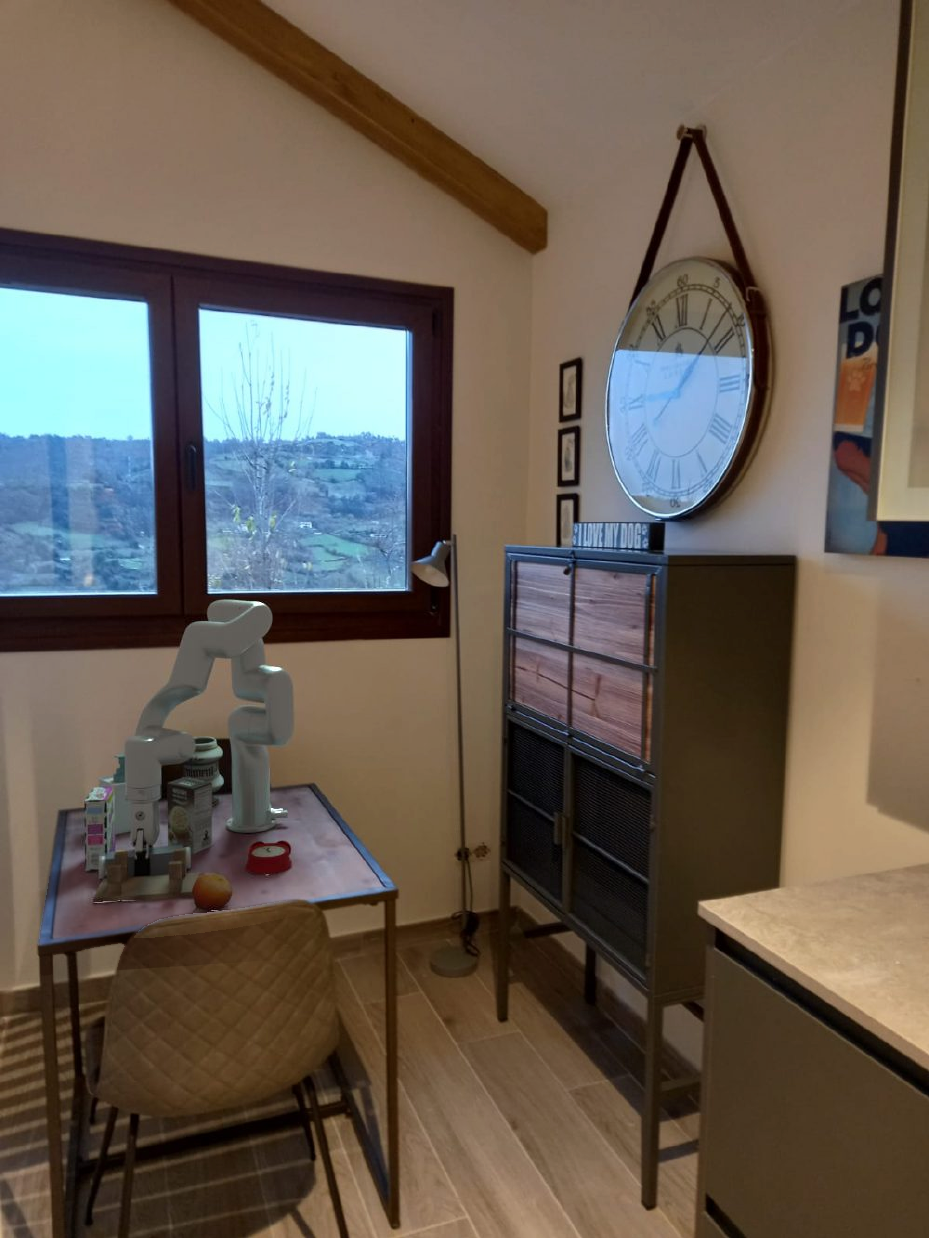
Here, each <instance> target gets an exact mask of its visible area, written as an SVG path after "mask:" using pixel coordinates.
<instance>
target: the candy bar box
mask: <svg viewBox="0 0 929 1238" xmlns="http://www.w3.org/2000/svg"><path fill="white" fill-rule="evenodd" d="M83 803H84V805H83V806H84V810H83V812H84V813H83V814H84V861H85V862H84V865H85V867H84V869H85V870H84V871H85V872H87V873H89V872H99V856H105V858H106V855H107V852H114V851H116V835H115V787H99V786H98V787H92V790H91V791H90V792H89V794H88V795H87V796H86V798H85V799H84V802H83Z"/></svg>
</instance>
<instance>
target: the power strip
mask: <svg viewBox="0 0 929 1238" xmlns="http://www.w3.org/2000/svg"><path fill="white" fill-rule="evenodd" d="M175 848H183V844H181V845H171V846H168V845H164V846H153V847H152V848H149V858H150V876H156V875H169V862H172V861H173V851H174V849H175ZM184 848H186V870H189V869H192V868H191V867H192V866H191V865H192V861H191V855H192V853H190V847H184ZM143 850H145V851H146V848H143ZM123 851H128V877H135V868H134V859H135V848H134V849H122V850H115V851H114V852H107V855H106V858H105V856H99V871H98V879H99V880H103V879H108V876H107V868H108V866H109V865H115V860H114V854H115V852H123Z"/></svg>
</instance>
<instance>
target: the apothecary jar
mask: <svg viewBox="0 0 929 1238" xmlns="http://www.w3.org/2000/svg"><path fill="white" fill-rule="evenodd" d="M193 738H194V740H195V744H196V748H195V751H194V754H193V755H192V756H191V758H190V759H188V760H187V761H185V762H183V763H182V765H183V767H182V768H183V769H182V771H183V772H182V773H183V774H182V775H183V776H182V777H181V778H183V777H190V778H194V779H198V780H202V781H207V782H211V783H212V794H213V793H216V792H217V791H218V790H220V789H221V788H222V787H223V785H224V777H223V776H222V775H221V774H220V770H219V760H220V759H221V758H222V757H223V749H222V748H221V747H220V746H219V745H218V743H217V739H216V738H215V737H213V736H194V737H193ZM219 800H220V799H219V798H218V797H217V796H215V795H212V807H213V806H215V804H216V805H218V804H219V803H220V801H219ZM218 802H219V803H218Z"/></svg>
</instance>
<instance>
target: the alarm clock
mask: <svg viewBox="0 0 929 1238" xmlns="http://www.w3.org/2000/svg"><path fill="white" fill-rule="evenodd" d="M291 853H292V846H291V844H290V843H289V842H288V841H287V840H278V841H277V842H266V843H265V842H264V841H260V840H259V841H258V840H257V841H255V842H253V843H252V844H251V845H250V847H249V849H248V852H247V860H246V863H245V866H244V869H245V870H246V871H247V872H249V873H251V874H255V875H261V876H262V875H263V874H264V876H265V875H266V874H269V875H275V874H279V873H284V872H286V871H287V870H289V869H290V868H291V867H292V866H293V863H292V860H291V857H290V855H291ZM291 865H292V866H291Z"/></svg>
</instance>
